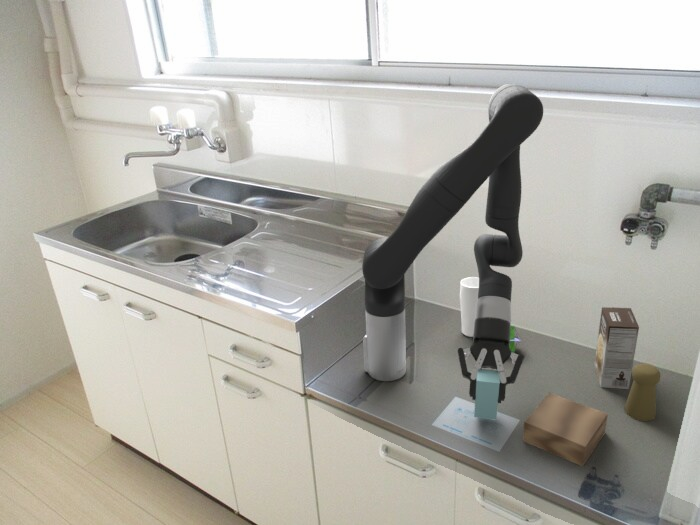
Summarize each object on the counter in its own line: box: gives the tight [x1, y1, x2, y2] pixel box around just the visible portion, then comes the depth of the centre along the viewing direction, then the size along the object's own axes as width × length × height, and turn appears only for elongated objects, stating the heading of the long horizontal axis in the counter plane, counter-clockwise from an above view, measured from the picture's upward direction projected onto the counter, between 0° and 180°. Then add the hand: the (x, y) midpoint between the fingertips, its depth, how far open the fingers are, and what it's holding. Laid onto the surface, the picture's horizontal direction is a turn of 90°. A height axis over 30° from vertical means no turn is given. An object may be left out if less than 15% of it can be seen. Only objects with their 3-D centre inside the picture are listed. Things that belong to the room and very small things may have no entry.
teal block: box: [473, 368, 500, 421], centre depth 123 cm, size 4×4×9 cm
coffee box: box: [594, 306, 640, 390], centre depth 134 cm, size 9×6×16 cm
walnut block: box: [522, 392, 609, 467], centre depth 118 cm, size 12×12×5 cm
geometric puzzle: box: [509, 325, 522, 354], centre depth 148 cm, size 7×7×8 cm
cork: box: [623, 363, 661, 422], centre depth 123 cm, size 6×6×11 cm
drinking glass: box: [459, 276, 479, 338], centre depth 156 cm, size 7×7×15 cm
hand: (486, 400), depth 121 cm, fingers closed on teal block, 4 cm apart
